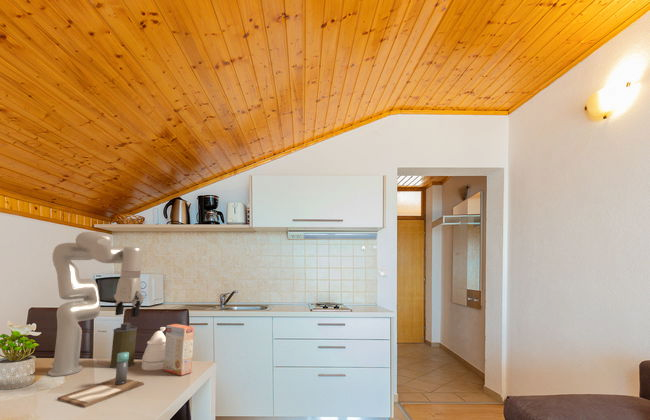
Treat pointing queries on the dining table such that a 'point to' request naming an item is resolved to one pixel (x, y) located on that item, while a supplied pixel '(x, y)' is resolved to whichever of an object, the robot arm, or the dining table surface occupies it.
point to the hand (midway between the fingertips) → (126, 315)
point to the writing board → (98, 392)
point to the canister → (123, 343)
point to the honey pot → (154, 351)
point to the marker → (121, 368)
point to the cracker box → (178, 349)
